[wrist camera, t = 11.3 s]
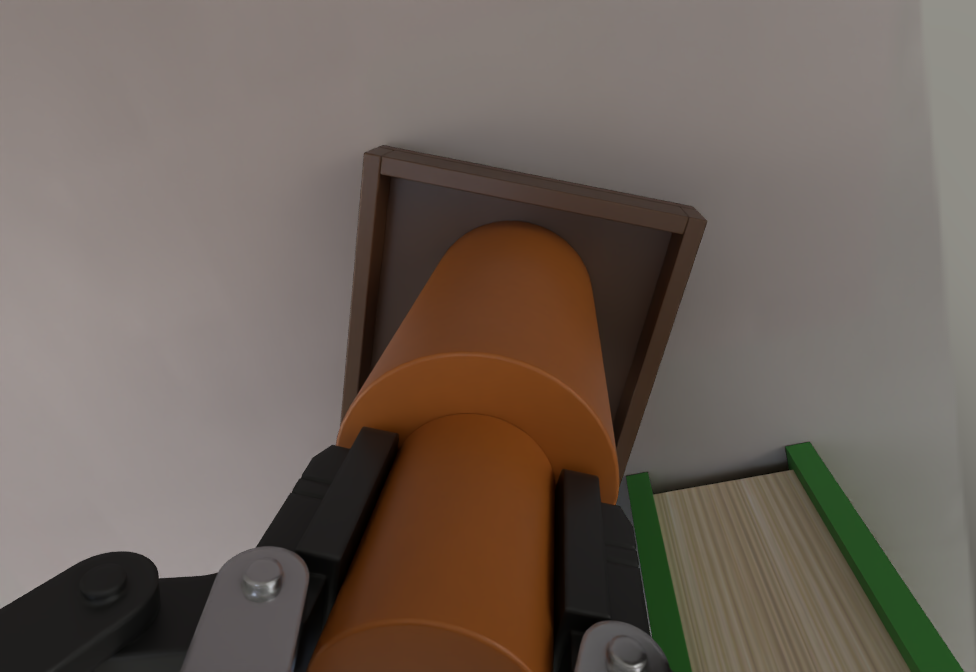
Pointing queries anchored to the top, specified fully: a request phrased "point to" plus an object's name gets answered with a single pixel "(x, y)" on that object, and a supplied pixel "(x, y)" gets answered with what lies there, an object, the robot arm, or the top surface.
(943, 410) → the top surface
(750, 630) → the hardback book
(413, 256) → the tray
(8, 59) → the top surface
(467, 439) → the amber bottle
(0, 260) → the top surface
